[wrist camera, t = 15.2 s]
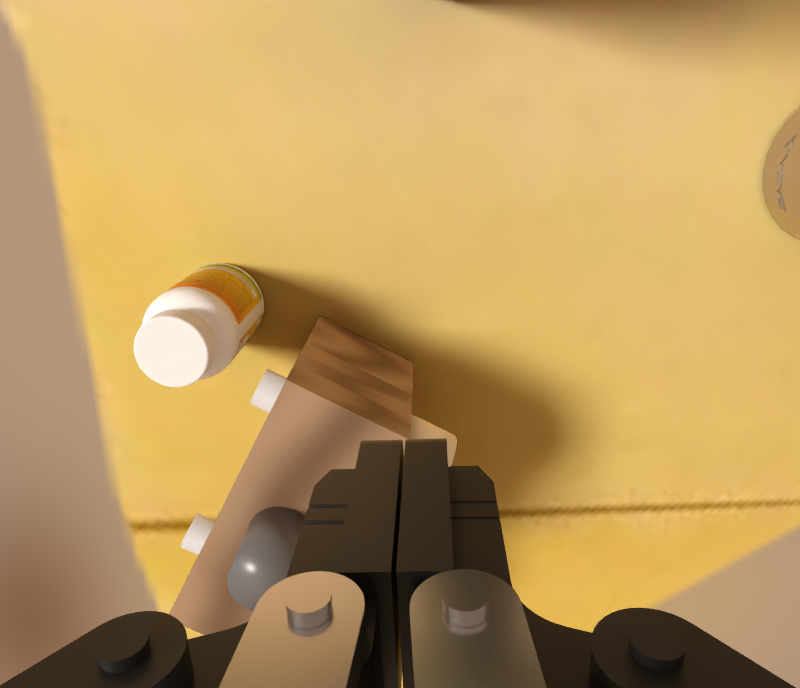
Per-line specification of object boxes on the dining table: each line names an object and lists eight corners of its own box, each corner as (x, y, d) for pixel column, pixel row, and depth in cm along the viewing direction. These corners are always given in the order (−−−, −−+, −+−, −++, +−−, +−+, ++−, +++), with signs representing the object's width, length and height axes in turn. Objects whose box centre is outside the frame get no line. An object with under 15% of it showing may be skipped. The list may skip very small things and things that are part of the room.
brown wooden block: (414, 363, 44) (410, 440, 34) (308, 549, 49) (276, 665, 39) (319, 315, 43) (286, 379, 33) (222, 510, 48) (166, 618, 38)
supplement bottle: (180, 260, 42) (112, 301, 33) (263, 262, 42) (217, 303, 33) (188, 339, 44) (125, 398, 35) (267, 341, 44) (225, 402, 35)
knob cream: (455, 421, 40) (458, 460, 36) (418, 481, 42) (417, 526, 37) (284, 337, 39) (266, 366, 34) (252, 402, 40) (230, 439, 36)
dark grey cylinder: (310, 505, 35) (296, 553, 31) (316, 561, 36) (303, 614, 32) (244, 506, 35) (222, 553, 31) (252, 562, 36) (232, 614, 33)
